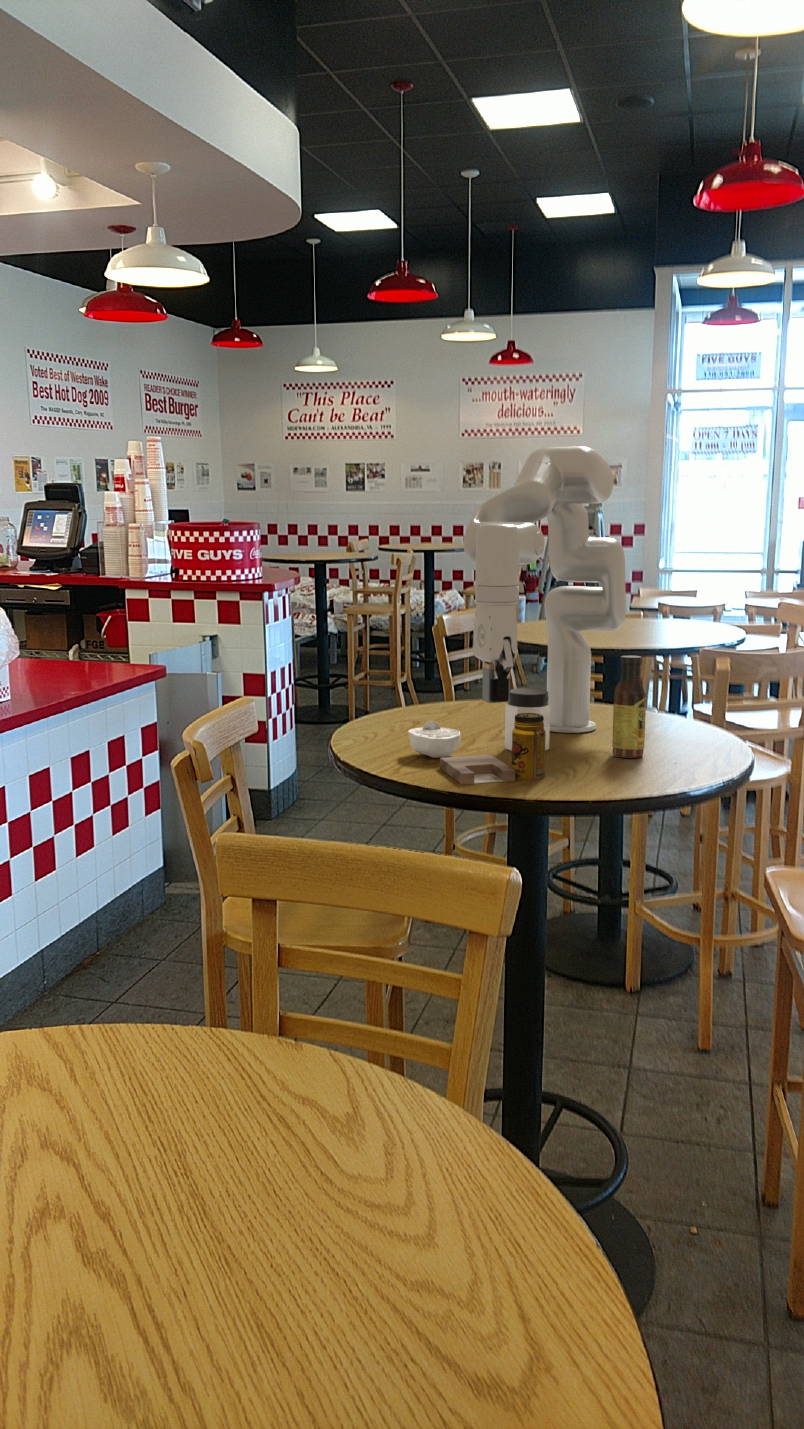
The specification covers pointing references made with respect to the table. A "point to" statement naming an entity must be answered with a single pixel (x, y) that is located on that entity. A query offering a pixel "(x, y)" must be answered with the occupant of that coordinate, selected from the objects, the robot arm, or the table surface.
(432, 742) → the cell model
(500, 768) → the notched board
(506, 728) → the jar
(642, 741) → the sauce bottle
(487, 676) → the grey and orange block
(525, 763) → the condiment
